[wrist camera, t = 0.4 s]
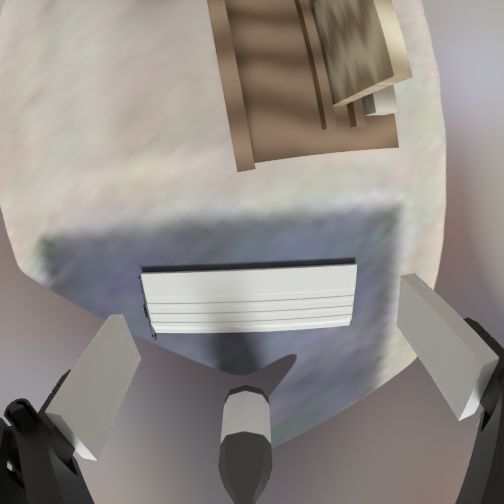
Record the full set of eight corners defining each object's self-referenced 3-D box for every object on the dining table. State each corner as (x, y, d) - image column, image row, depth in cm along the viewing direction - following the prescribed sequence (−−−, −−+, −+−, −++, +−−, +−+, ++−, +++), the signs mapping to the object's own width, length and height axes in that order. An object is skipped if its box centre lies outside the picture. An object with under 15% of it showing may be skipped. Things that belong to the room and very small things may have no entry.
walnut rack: (211, -7, 29) (196, -59, 16) (356, -14, 28) (390, -59, 15) (242, 164, 37) (237, 171, 25) (393, 147, 36) (450, 150, 23)
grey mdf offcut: (356, 72, 32) (367, 65, 28) (376, 72, 32) (389, 65, 28) (364, 115, 34) (376, 112, 30) (384, 115, 33) (398, 112, 30)
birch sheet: (310, 11, 29) (346, -65, 12) (321, 11, 29) (364, -62, 12) (331, 106, 33) (394, 75, 16) (343, 105, 33) (412, 77, 16)
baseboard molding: (346, 329, 46) (353, 260, 42) (351, 339, 44) (360, 268, 40) (158, 336, 47) (143, 269, 43) (153, 346, 44) (137, 277, 40)
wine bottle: (277, 398, 51) (289, 548, 22) (247, 417, 53) (245, 556, 24) (245, 378, 49) (241, 541, 21) (215, 399, 51) (198, 547, 22)
